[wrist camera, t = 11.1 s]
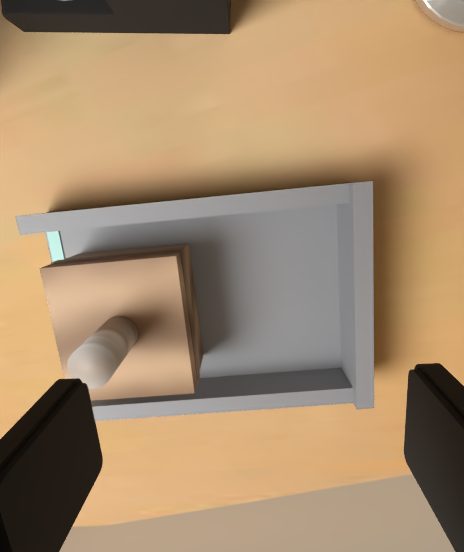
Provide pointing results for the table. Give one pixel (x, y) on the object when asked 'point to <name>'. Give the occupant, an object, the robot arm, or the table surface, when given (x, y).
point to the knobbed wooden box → (127, 321)
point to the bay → (253, 292)
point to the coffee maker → (120, 16)
